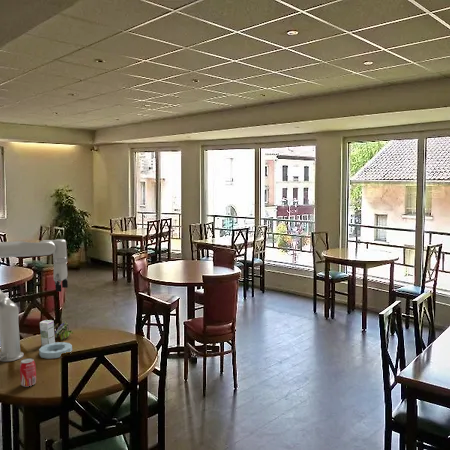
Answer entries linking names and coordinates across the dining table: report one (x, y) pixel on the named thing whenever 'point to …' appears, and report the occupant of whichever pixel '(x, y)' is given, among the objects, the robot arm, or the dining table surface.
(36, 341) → the dining table surface
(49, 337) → the syrup box
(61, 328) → the passion flower
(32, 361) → the soda can
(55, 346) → the pale blue ring
